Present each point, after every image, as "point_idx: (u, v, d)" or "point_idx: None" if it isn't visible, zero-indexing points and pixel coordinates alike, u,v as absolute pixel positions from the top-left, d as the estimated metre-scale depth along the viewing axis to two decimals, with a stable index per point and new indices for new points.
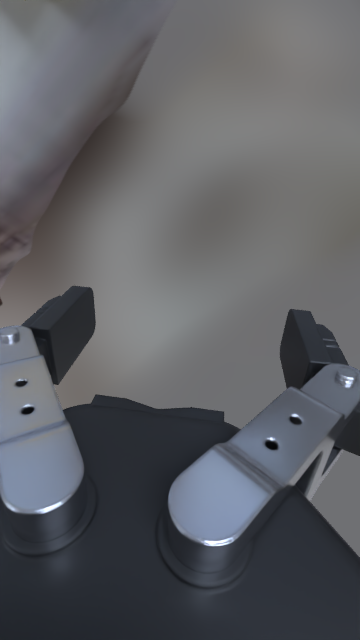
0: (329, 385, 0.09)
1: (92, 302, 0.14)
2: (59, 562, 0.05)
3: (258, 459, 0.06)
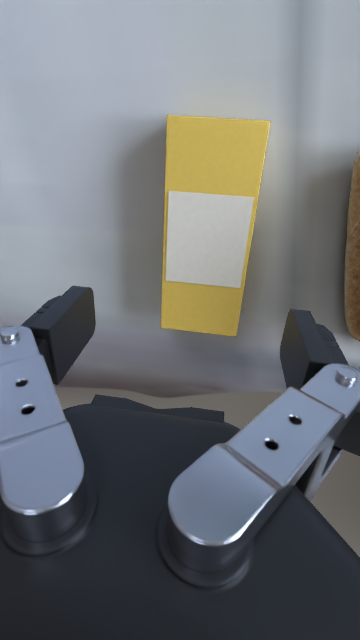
0: (329, 385, 0.09)
1: (92, 302, 0.14)
2: (59, 562, 0.05)
3: (258, 459, 0.06)
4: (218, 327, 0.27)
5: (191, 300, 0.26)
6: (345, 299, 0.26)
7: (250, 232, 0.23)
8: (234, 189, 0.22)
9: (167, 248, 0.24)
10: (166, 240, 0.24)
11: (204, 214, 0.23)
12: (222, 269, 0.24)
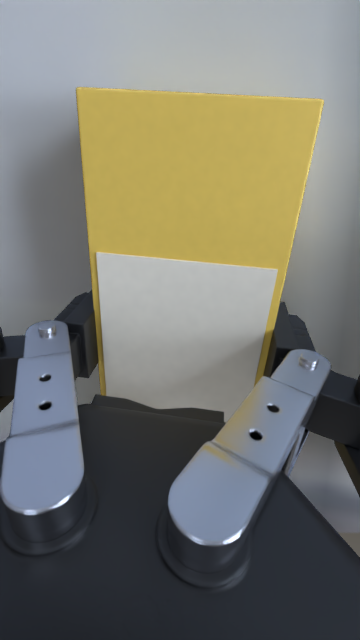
0: (295, 370, 0.09)
1: None
2: (59, 562, 0.05)
3: (246, 451, 0.06)
4: None
5: None
6: None
7: (268, 334, 0.11)
8: (236, 252, 0.10)
9: (105, 355, 0.12)
10: (102, 341, 0.12)
11: (174, 299, 0.11)
12: (212, 392, 0.13)
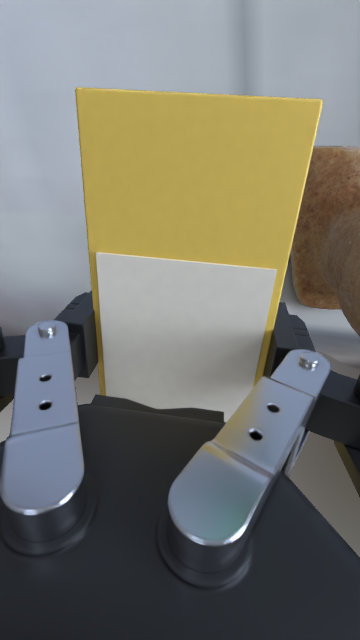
0: (295, 370, 0.09)
1: None
2: (59, 562, 0.05)
3: (246, 451, 0.06)
4: None
5: None
6: (292, 270, 0.32)
7: (267, 333, 0.11)
8: (235, 252, 0.10)
9: (104, 355, 0.12)
10: (102, 341, 0.12)
11: (173, 299, 0.11)
12: (211, 392, 0.13)
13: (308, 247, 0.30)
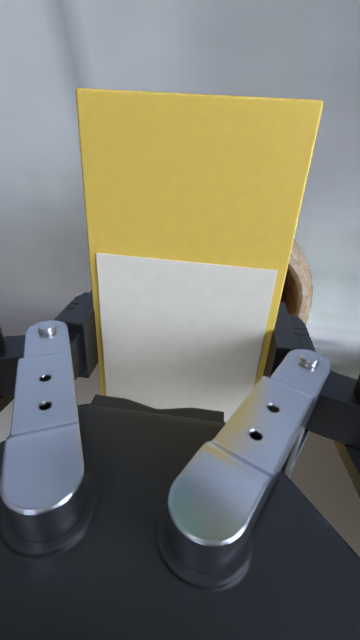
0: (295, 370, 0.09)
1: None
2: (59, 562, 0.05)
3: (246, 451, 0.06)
4: None
5: None
6: None
7: (268, 334, 0.11)
8: (236, 252, 0.10)
9: (105, 355, 0.12)
10: (102, 342, 0.12)
11: (174, 300, 0.11)
12: (212, 393, 0.13)
13: None
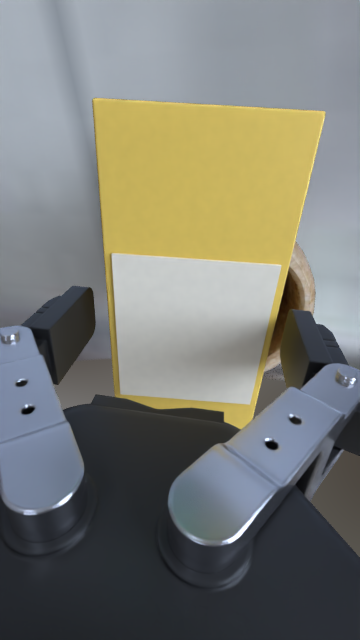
0: (329, 385, 0.09)
1: (92, 302, 0.14)
2: (59, 562, 0.05)
3: (258, 459, 0.06)
4: None
5: None
6: None
7: (271, 322, 0.12)
8: (243, 250, 0.11)
9: (118, 348, 0.13)
10: (116, 335, 0.13)
11: (185, 294, 0.12)
12: (219, 377, 0.14)
13: None
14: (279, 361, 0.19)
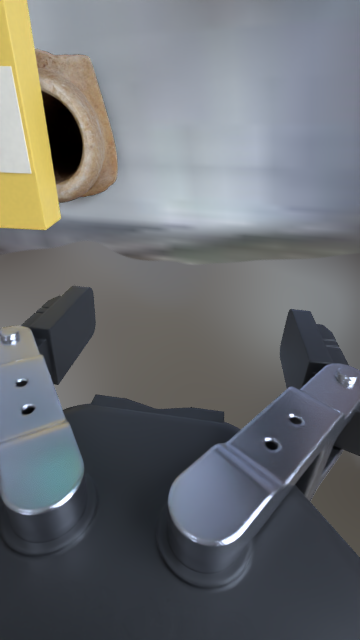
0: (329, 385, 0.09)
1: (92, 302, 0.14)
2: (59, 562, 0.05)
3: (258, 459, 0.06)
4: (26, 220, 0.27)
5: None
6: None
7: (21, 108, 0.23)
8: None
9: None
10: None
11: None
12: (8, 153, 0.24)
13: None
14: (81, 178, 0.29)
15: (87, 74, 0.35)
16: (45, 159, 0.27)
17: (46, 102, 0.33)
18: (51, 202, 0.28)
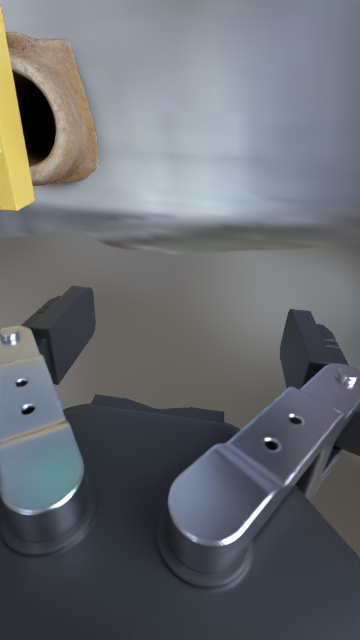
0: (329, 385, 0.09)
1: (92, 302, 0.14)
2: (59, 562, 0.05)
3: (258, 459, 0.06)
4: None
5: None
6: None
7: None
8: None
9: None
10: None
11: None
12: None
13: None
14: (54, 161, 0.29)
15: (66, 59, 0.35)
16: (16, 139, 0.27)
17: (23, 85, 0.33)
18: (23, 183, 0.28)
